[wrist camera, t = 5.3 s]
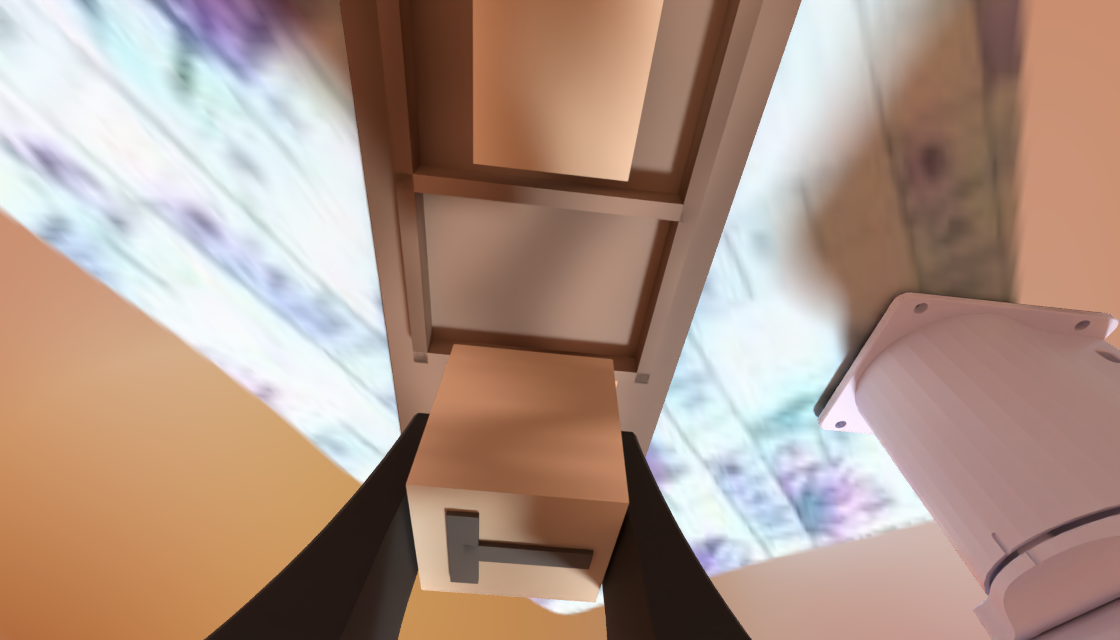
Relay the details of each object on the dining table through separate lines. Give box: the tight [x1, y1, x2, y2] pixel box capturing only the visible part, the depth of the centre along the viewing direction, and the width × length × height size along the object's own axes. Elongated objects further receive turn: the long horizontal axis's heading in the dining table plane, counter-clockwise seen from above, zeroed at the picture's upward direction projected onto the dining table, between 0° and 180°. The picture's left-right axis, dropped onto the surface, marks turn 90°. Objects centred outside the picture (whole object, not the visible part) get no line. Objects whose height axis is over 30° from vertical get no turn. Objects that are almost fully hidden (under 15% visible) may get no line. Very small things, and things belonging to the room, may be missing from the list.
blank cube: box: [473, 0, 664, 181], centre depth 12 cm, size 4×4×4 cm
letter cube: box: [406, 344, 629, 602], centre depth 11 cm, size 4×4×4 cm
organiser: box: [340, 0, 801, 457], centre depth 18 cm, size 13×25×2 cm, turn 174°
